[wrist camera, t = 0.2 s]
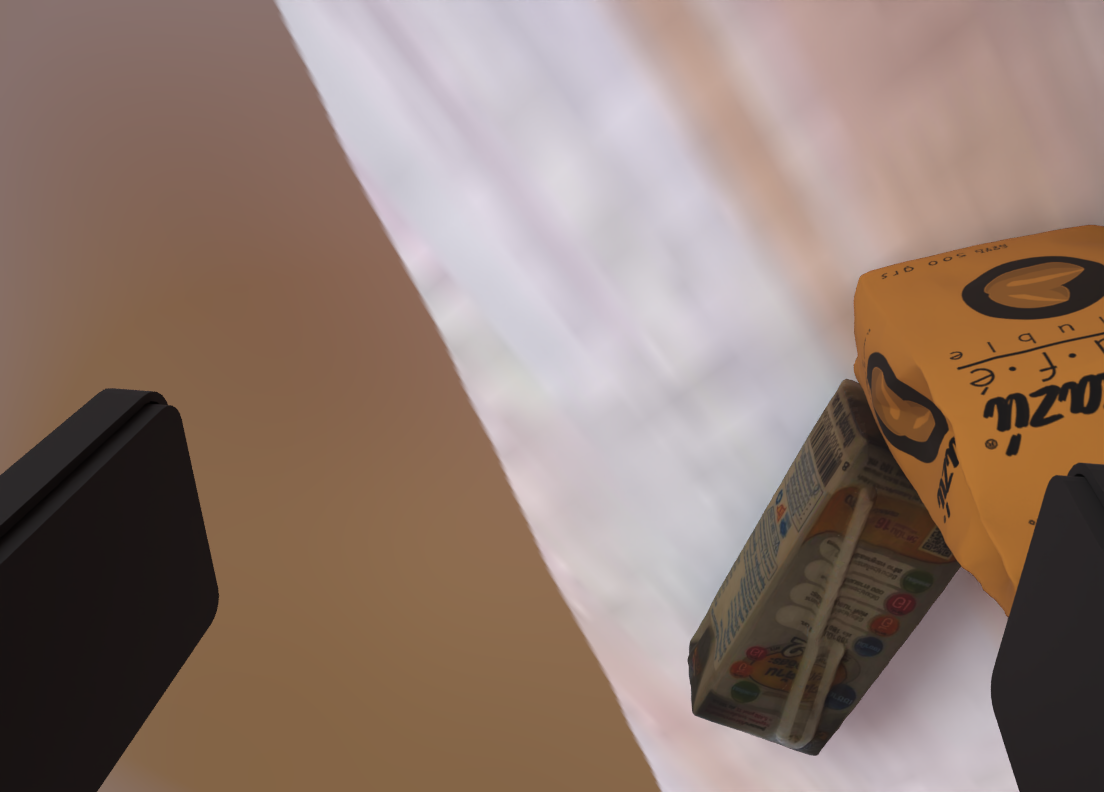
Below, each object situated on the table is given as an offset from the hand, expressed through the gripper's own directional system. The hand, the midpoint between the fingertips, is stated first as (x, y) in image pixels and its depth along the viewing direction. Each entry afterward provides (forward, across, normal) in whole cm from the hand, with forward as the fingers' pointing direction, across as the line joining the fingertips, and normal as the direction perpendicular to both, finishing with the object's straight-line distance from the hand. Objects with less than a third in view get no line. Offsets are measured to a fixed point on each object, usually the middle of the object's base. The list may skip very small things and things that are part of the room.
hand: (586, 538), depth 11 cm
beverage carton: (+36, -9, +26) cm, 45 cm away
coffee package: (+36, -14, +12) cm, 41 cm away
